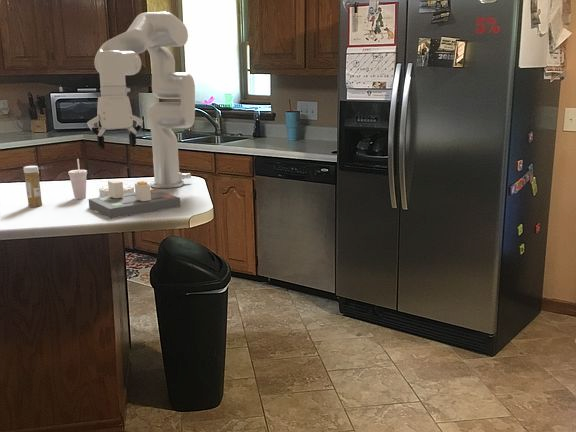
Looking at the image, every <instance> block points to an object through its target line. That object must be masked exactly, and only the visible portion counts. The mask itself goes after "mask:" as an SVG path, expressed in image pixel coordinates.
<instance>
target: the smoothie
mask: <svg viewBox="0 0 576 432" xmlns="http://www.w3.org/2000/svg"><path fill="white" fill-rule="evenodd" d="M76 162H77V169H72V170H69V171H68V172H67V173H68V176H69V179H70V183H71V184H70V185H71V188H72V192H73V196H74V199H75V200H84V199H86V198H87V174H88V170H87V169H80V159H79V158H77V159H76Z"/></svg>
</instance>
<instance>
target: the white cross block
mask: <svg viewBox="0 0 576 432" xmlns="http://www.w3.org/2000/svg"><path fill="white" fill-rule="evenodd" d="M98 192H99V197H106V196H109V188H108V184H107V185H102V186H101V187H100V188H99V191H98ZM133 192H135V186H133V185H131V184H128V183H123V193H124V194H126V193H133Z"/></svg>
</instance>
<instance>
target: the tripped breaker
mask: <svg viewBox="0 0 576 432" xmlns="http://www.w3.org/2000/svg"><path fill="white" fill-rule="evenodd" d="M150 190H151V184H150V183H149V184H148V182H147V181H144V180H141V181H137V182H136V183H134V192H135V194H136V199H138V200H140V201H148V200H151V192H150Z"/></svg>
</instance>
